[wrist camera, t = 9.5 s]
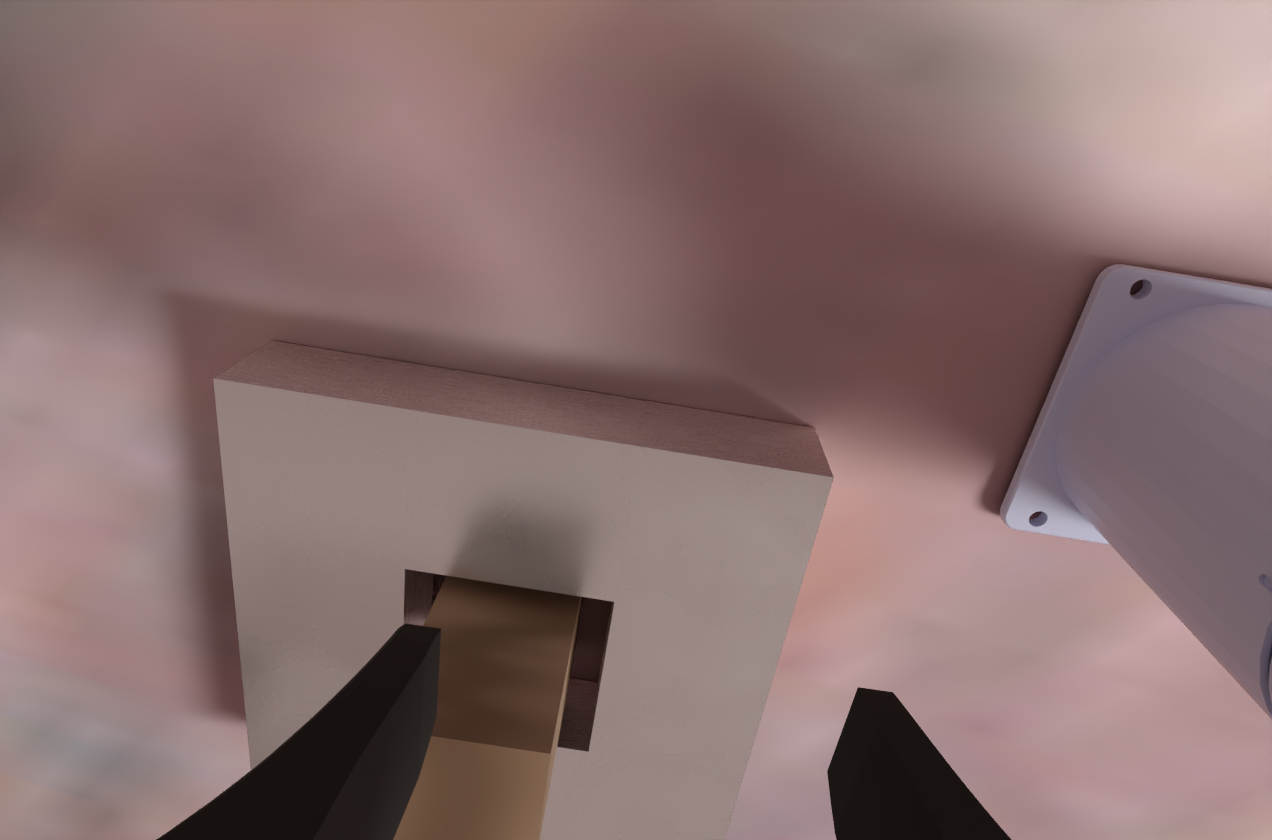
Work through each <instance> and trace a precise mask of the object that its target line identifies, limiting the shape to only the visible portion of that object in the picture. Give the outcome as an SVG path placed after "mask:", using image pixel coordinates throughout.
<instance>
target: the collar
mask: <svg viewBox="0 0 1272 840" xmlns="http://www.w3.org/2000/svg"><path fill="white" fill-rule="evenodd" d="M213 382H214V392H215V403H216V413H217V423H218V434H219V444H220V455H221V465H222V475H223V486H224V496H225V506H226V517H227V527H228V537H229V548H230V558H231V568H232V579H233V589H234V599H235V610H236V620H237V631H238V641H239V651H240V662H241V672H242V682H243V693H244V703H245V713H246V724H247V734H248V744H249V755H250V765H251V770H252V769H253V768H255V767H256V766H257V765H258V764H259V763H261V762H262V761H263V760H264V759H266V758H267V757H268V756H269V755H270V754H272V753H273V752H274V751H275V750H276V749H277V748H278V747H279V746H281V745H282V744H283V743H284V742H285V741H286V740H287V739H288V738H290V737H291V736H292V735H293V734H294V733H295V732H296V731H298V730H299V729H300V728H301V727H302V726H303V725H304V724H305V723H307V722H308V721H309V720H310V719H311V718H312V717H313V716H314V715H315V714H316V713H317V712H318V711H320V710H321V709H322V708H323V707H324V706H325V705H326V704H327V703H328V702H329V701H330V700H331V699H332V698H333V697H334V696H335V695H336V694H337V693H338V692H339V691H340V690H341V689H342V688H343V687H344V686H345V685H346V684H347V683H348V682H349V681H350V680H351V679H352V678H353V677H354V676H355V675H356V674H357V673H358V672H359V671H360V670H361V669H362V668H363V667H364V666H365V665H366V663H367V662H368V661H369V660H370V659H371V658H372V657H373V656H374V655H375V654H376V653H377V652H378V651H379V649H380V648H381V647H382V646H383V645H384V644H385V643H386V642H387V641H388V639H389V638H390V637H391V636H392V635H393V634H394V632H395V631H396V630H397V629H398V628H399V627H401V626H402V625H404V624H405V623H406V624H413V625H420V626H423V625H424V622H425V620H426V618H427V616H428V614H429V612H430V610H431V608H432V602H433V580H434V574H440V575H446V576H453V577H459V578H465V579H472V580H478V581H485V582H491V583H497V584H504V585H510V586H517V587H523V588H529V589H536V590H542V591H548V592H555V593H561V594H568V595H574V596H580V597H587V598H593V599H599V600H606V601H612V604H611V609H610V615H609V621H608V627H607V633H606V639H605V645H604V650H603V656H602V662H601V668H600V674H599V680H598V682H593V681H587V680H580V679H574V678H570V679H569V684H568V690H567V695H566V701H565V706H564V712H563V717H562V722H561V728H560V733H559V739H558V744H557V750H556V755H555V760H554V766H553V771H552V777H551V782H550V788H549V793H548V798H547V804H546V809H545V815H544V820H543V826H542V831H541V836H540V840H724V839H725V836H726V833H727V829H728V826H729V823H730V819H731V816H732V813H733V809H734V806H735V803H736V800H737V796H738V793H739V790H740V786H741V783H742V780H743V776H744V773H745V770H746V766H747V763H748V760H749V756H750V753H751V750H752V747H753V743H754V740H755V737H756V733H757V730H758V727H759V723H760V720H761V717H762V713H763V710H764V707H765V703H766V700H767V697H768V694H769V690H770V687H771V684H772V680H773V677H774V674H775V670H776V667H777V664H778V660H779V657H780V654H781V650H782V647H783V644H784V641H785V637H786V634H787V631H788V627H789V624H790V621H791V617H792V614H793V611H794V607H795V604H796V601H797V597H798V594H799V591H800V588H801V584H802V581H803V578H804V574H805V571H806V568H807V564H808V561H809V558H810V554H811V551H812V548H813V545H814V541H815V538H816V535H817V531H818V528H819V525H820V521H821V518H822V515H823V511H824V508H825V505H826V501H827V498H828V495H829V492H830V488H831V485H832V482H833V478H834V477H833V474H832V472H831V469H830V466H829V464H828V461H827V459H826V456H825V453H824V451H823V448H822V446H821V443H820V440H819V438H818V435H817V433H816V430H815V428H813V427H807V426H801V425H794V424H788V423H782V422H776V421H770V420H763V419H757V418H751V417H745V416H738V415H732V414H726V413H720V412H714V411H707V410H701V409H695V408H689V407H682V406H676V405H670V404H664V403H658V402H651V401H645V400H639V399H633V398H626V397H620V396H614V395H608V394H601V393H595V392H589V391H583V390H577V389H570V388H564V387H558V386H552V385H545V384H539V383H533V382H527V381H521V380H514V379H508V378H502V377H496V376H489V375H483V374H477V373H471V372H465V371H458V370H452V369H446V368H440V367H433V366H427V365H421V364H415V363H409V362H402V361H396V360H390V359H384V358H377V357H371V356H365V355H359V354H352V353H346V352H340V351H334V350H328V349H321V348H315V347H309V346H303V345H296V344H290V343H284V342H278V341H271V342H269V343H267V344H266V345H264V346H263V347H261V348H260V349H258V350H257V351H255V352H253V353H252V354H250V355H249V356H247V357H246V358H244V359H243V360H241V361H239V362H238V363H236V364H235V365H233V366H232V367H230V368H228V369H227V370H225V371H224V372H222V373H221V374H219V375H218V376H216V377H214V378H213Z"/></svg>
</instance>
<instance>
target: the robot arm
mask: <svg viewBox="0 0 1272 840" xmlns="http://www.w3.org/2000/svg"><path fill="white" fill-rule="evenodd" d="M1139 280H1143V287H1142V289H1141V290H1140V291H1139V292H1138V293H1136V294H1135V295H1130V289H1131V287H1132V285H1133V284H1134V283H1135V282H1137V281H1139ZM1039 511H1042V512H1041V514H1040V516H1039V517H1037V518H1035V519H1029V517H1030V516H1031V515H1032V514H1033V513H1035V512H1039ZM1000 516H1001V519H1002V520H1003V522H1004V523H1005V524H1006V525H1007V526H1008V527H1009V528H1012V529H1015V530H1021V531H1027V532H1033V533H1040V534H1046V535H1052V536H1058V537H1065V538H1071V539H1077V540H1083V541H1090V542H1096V543H1102V544H1109V545H1111V546H1112V547H1113V548H1114V549H1115V550H1116V551H1117V552H1118V553H1119V555H1120V556H1121V557H1122V558H1123V559H1124V560H1125V561H1126V562H1127V563H1128V564H1129V565H1130V566H1131V568H1132V569H1133V570H1134V571H1135V572H1136V573H1137V574H1138V575H1139V576H1140V577H1141V578H1142V579H1143V581H1144V582H1145V583H1146V584H1147V585H1148V586H1149V587H1150V588H1151V589H1152V590H1153V591H1154V592H1155V594H1156V595H1157V596H1158V597H1159V598H1160V599H1161V600H1162V601H1163V602H1164V603H1165V604H1166V605H1167V606H1168V608H1169V609H1170V610H1171V611H1172V612H1173V613H1174V614H1175V615H1176V616H1177V617H1178V618H1179V619H1180V621H1181V622H1182V623H1183V624H1184V625H1185V626H1186V627H1187V628H1188V629H1189V630H1190V631H1191V632H1192V634H1193V635H1194V636H1195V637H1196V638H1197V639H1198V640H1199V641H1200V642H1201V643H1202V644H1203V645H1204V647H1205V648H1206V649H1207V650H1208V651H1209V652H1210V653H1211V654H1212V655H1213V656H1214V657H1215V658H1216V660H1217V661H1218V662H1219V663H1220V664H1221V665H1222V666H1223V667H1224V668H1225V669H1226V670H1227V671H1228V673H1229V674H1230V675H1231V676H1232V677H1233V678H1234V679H1235V680H1236V681H1237V682H1238V683H1239V684H1240V686H1241V687H1242V688H1243V689H1244V690H1245V691H1246V692H1247V693H1248V694H1249V695H1250V696H1251V697H1252V698H1253V700H1254V701H1255V702H1256V703H1257V704H1258V705H1259V706H1260V707H1261V708H1262V709H1263V710H1264V711H1265V713H1266V714H1267V715H1268V716H1269V717H1270V718H1271V719H1272V289H1271V288H1265V287H1259V286H1253V285H1247V284H1241V283H1235V282H1229V281H1222V280H1216V279H1210V278H1204V277H1198V276H1192V275H1186V274H1180V273H1174V272H1168V271H1162V270H1156V269H1150V268H1144V267H1137V266H1131V265H1125V264H1115V265H1112V266H1109V267H1107V268H1106V269H1105V270H1103V271H1102V272H1101V273H1100V274H1099V276H1098V277H1097V279H1096V281H1095V283H1094V286H1093V288H1092V290H1091V293H1090V295H1089V297H1088V300H1087V302H1086V305H1085V307H1084V309H1083V312H1082V314H1081V317H1080V319H1079V321H1078V324H1077V326H1076V329H1075V331H1074V333H1073V336H1072V338H1071V340H1070V343H1069V345H1068V348H1067V350H1066V352H1065V355H1064V357H1063V360H1062V362H1061V364H1060V367H1059V369H1058V371H1057V374H1056V376H1055V379H1054V381H1053V383H1052V386H1051V388H1050V391H1049V393H1048V395H1047V398H1046V400H1045V403H1044V405H1043V407H1042V410H1041V412H1040V414H1039V417H1038V419H1037V422H1036V424H1035V426H1034V429H1033V431H1032V434H1031V436H1030V438H1029V441H1028V443H1027V445H1026V448H1025V450H1024V453H1023V455H1022V457H1021V460H1020V462H1019V465H1018V467H1017V469H1016V472H1015V474H1014V477H1013V479H1012V481H1011V484H1010V486H1009V488H1008V491H1007V493H1006V496H1005V498H1004V500H1003V503H1002V505H1001V508H1000ZM440 641H441V628H434V627H427V626H420V625H413V624H406V623H405V624H404V625H402V626H401V627H399V628H398V629H397V630H396V631H395V632H394V634H393V635H392V636H391V637H390V638H389V639H388V641H387V642H386V643H385V644H384V645H383V646H382V647H381V648H380V649H379V651H378V652H377V653H376V654H375V655H374V656H373V657H372V658H371V659H370V660H369V661H368V662H367V663H366V665H365V666H364V667H363V668H362V669H361V670H360V671H359V672H358V673H357V674H356V675H355V676H354V677H353V678H352V679H351V680H350V681H349V682H348V683H347V684H346V685H345V686H344V687H343V688H342V689H341V690H340V691H339V692H338V693H337V694H336V695H335V696H334V697H333V698H332V699H331V700H330V701H329V702H328V703H327V704H326V705H325V706H324V707H323V708H322V709H321V710H320V711H318V712H317V713H316V714H315V715H314V716H313V717H312V718H311V719H310V720H309V721H308V722H307V723H305V724H304V725H303V726H302V727H301V728H300V729H299V730H298V731H296V732H295V733H294V734H293V735H292V736H291V737H290V738H288V739H287V740H286V741H285V742H284V743H283V744H282V745H281V746H279V747H278V748H277V749H276V750H275V751H274V752H273V753H272V754H270V755H269V756H268V757H267V758H266V759H264V760H263V761H262V762H261V763H259V764H258V765H257V766H256V767H255V768H253V769H252V770H251V771H250V772H248V773H247V774H246V775H245V776H243V777H242V778H241V779H240V780H238V781H237V782H236V783H235V784H233V785H232V786H231V787H229V788H228V789H227V790H225V791H224V792H223V793H221V794H220V795H219V796H218V797H216V798H215V799H214V800H212V801H211V802H210V803H208V804H207V805H205V806H204V807H203V808H201V809H200V810H198V811H197V812H195V813H194V814H193V815H191V816H190V817H188V818H187V819H186V820H184V821H183V822H181V823H180V824H179V825H177V826H176V827H174V828H173V829H171V830H170V831H169V832H167V833H166V834H164V835H163V836H161V837H160V838H158V839H157V840H393V839H394V837H395V834H396V832H397V829H398V827H399V825H400V822H401V820H402V817H403V815H404V812H405V810H406V808H407V805H408V803H409V800H410V798H411V795H412V793H413V791H414V788H415V786H416V783H417V781H418V778H419V775H420V772H421V769H422V765H423V762H424V759H425V755H426V752H427V749H428V745H429V742H430V738H431V735H432V731H433V728H434V724H435V721H436V718H437V699H438V679H439V660H440ZM827 772H828V781H829V789H830V798H831V806H832V813H833V821H834V828H835V834H836V838H837V840H1011V839H1010V838H1009V836H1008V835H1007V834H1006V833H1005V832H1004V831H1003V830H1002V829H1001V827H1000V826H999V825H998V824H997V823H996V822H995V820H994V819H993V818H992V817H991V816H990V815H989V813H988V812H987V811H986V810H985V809H984V807H983V806H982V805H981V804H980V803H979V801H978V800H977V799H976V798H975V797H974V795H973V794H972V793H971V792H970V790H969V789H968V788H967V787H966V785H965V784H964V783H963V782H962V781H961V779H960V778H959V777H958V776H957V774H956V773H955V772H954V770H953V769H952V768H951V767H950V765H949V764H948V763H947V762H946V760H945V759H944V758H943V756H942V755H941V754H940V753H939V751H938V750H937V749H936V747H935V746H934V745H933V744H932V742H931V741H930V740H929V738H928V737H927V736H926V734H925V733H924V732H923V731H922V729H921V728H920V727H919V725H918V724H917V723H916V721H915V720H914V719H913V717H912V716H911V715H910V714H909V712H908V711H907V710H906V708H905V707H904V706H903V705H902V703H901V702H900V701H899V699H898V698H897V697H896V696H895V694H894V693H893V692H887V691H880V690H873V689H866V688H858V689H857V692H856V694H855V697H854V700H853V703H852V705H851V708H850V711H849V714H848V716H847V719H846V722H845V725H844V727H843V730H842V733H841V736H840V738H839V741H838V744H837V746H836V749H835V752H834V755H833V757H832V760H831V763H830V766H829V768H828V771H827Z"/></svg>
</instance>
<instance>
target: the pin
mask: <svg viewBox="0 0 1272 840" xmlns="http://www.w3.org/2000/svg"><path fill="white" fill-rule="evenodd" d="M582 599H583V597H580V596H574V595H568V594H561V593H555V592H548V591H542V590H536V589H529V588H523V587H517V586H510V585H504V584H497V583H491V582H485V581H478V580H472V579H465V578H459V577H453V576H446V578H445V580H444V582H443V584H442V586H441V588H440V591H439V593H438V595H437V597H436V599H435V601H434V603H433V605H432V608H431V610H430V612H429V614H428V616H427V618H426V620H425V622H424V625H423V626H427V627H434V628H441V641H440V660H439V679H438V699H437V718H436V721H435V724H434V728H433V731H432V735H431V738H430V742H429V745H428V749H427V752H426V755H425V759H424V762H423V765H422V769H421V772H420V775H419V778H418V781H417V783H416V786H415V788H414V791H413V793H412V795H411V798H410V800H409V803H408V805H407V808H406V810H405V812H404V815H403V817H402V820H401V822H400V825H399V827H398V829H397V832H396V834H395V837H394V839H393V840H540V836H541V831H542V826H543V820H544V815H545V809H546V804H547V798H548V793H549V788H550V782H551V777H552V771H553V766H554V760H555V755H556V750H557V744H558V739H559V733H560V728H561V722H562V717H563V712H564V706H565V701H566V695H567V690H568V684H569V679H570V674H571V668H572V663H573V657H574V652H575V646H576V640H577V633H578V626H579V619H580V612H581V606H582Z"/></svg>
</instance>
